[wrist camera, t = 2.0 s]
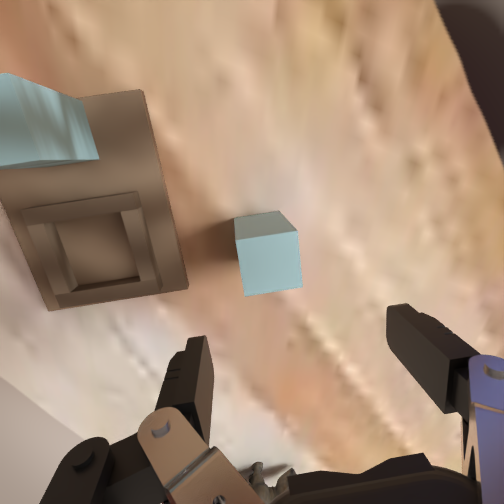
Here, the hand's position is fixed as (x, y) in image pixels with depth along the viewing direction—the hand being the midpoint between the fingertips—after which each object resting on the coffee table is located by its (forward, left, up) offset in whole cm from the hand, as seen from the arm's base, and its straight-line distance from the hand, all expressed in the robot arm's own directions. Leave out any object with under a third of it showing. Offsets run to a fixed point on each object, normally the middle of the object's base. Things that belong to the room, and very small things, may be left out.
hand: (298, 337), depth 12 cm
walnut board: (-5, -15, -17) cm, 23 cm away
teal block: (0, 0, -17) cm, 17 cm away
